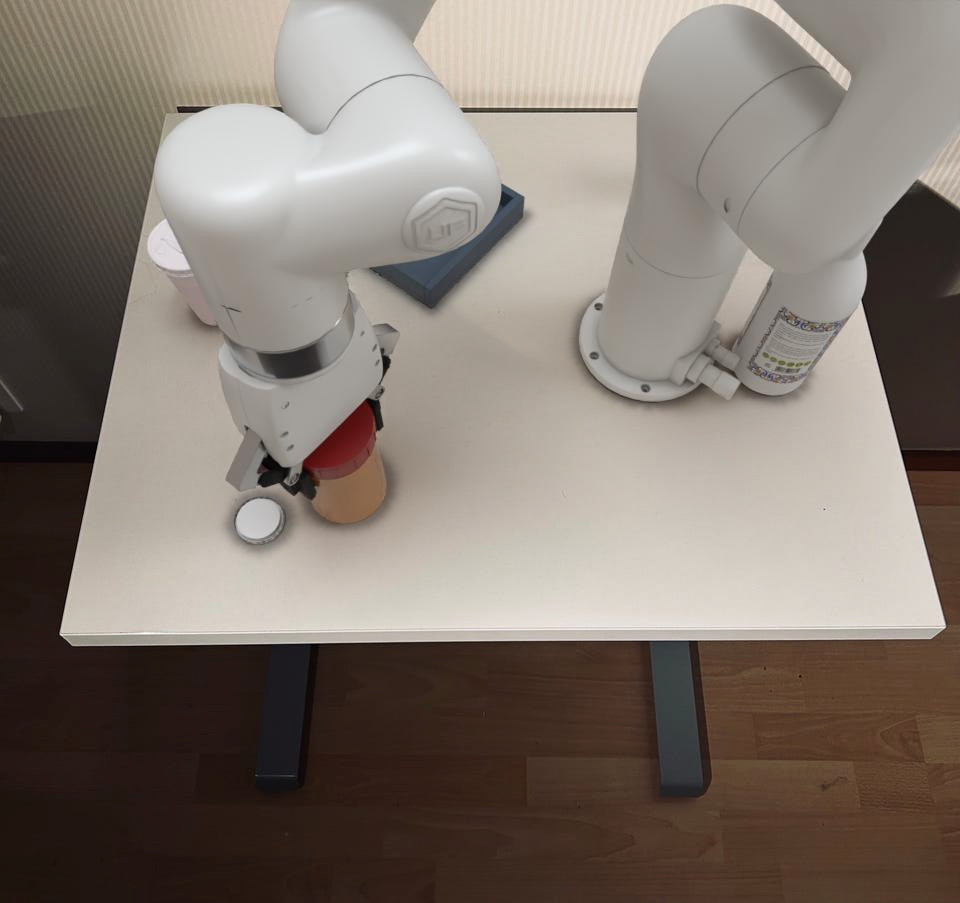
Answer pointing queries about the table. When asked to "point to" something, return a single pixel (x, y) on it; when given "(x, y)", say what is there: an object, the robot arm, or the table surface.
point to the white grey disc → (259, 520)
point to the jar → (352, 492)
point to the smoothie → (177, 269)
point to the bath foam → (799, 322)
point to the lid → (344, 446)
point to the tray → (454, 256)
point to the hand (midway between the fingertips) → (333, 451)
